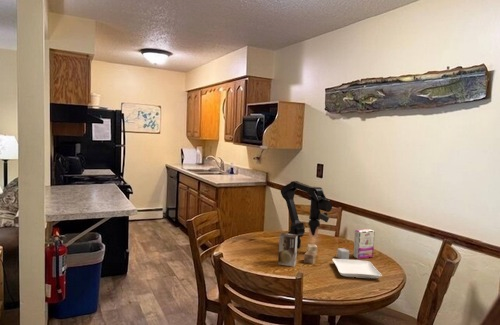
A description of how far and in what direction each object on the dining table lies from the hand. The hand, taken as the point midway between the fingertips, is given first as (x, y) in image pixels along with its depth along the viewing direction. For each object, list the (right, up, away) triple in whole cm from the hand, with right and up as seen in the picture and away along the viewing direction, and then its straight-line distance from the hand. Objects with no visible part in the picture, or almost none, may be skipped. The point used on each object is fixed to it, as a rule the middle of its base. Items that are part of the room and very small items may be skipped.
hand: (313, 234), depth 208 cm
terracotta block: (0, -1, 0) cm, 1 cm away
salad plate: (+18, -16, -24) cm, 34 cm away
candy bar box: (+30, -14, 0) cm, 33 cm away
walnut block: (-5, -13, -14) cm, 19 cm away
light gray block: (+17, -13, -3) cm, 22 cm away
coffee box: (-18, -13, -18) cm, 28 cm away
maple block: (-1, -12, +1) cm, 12 cm away
